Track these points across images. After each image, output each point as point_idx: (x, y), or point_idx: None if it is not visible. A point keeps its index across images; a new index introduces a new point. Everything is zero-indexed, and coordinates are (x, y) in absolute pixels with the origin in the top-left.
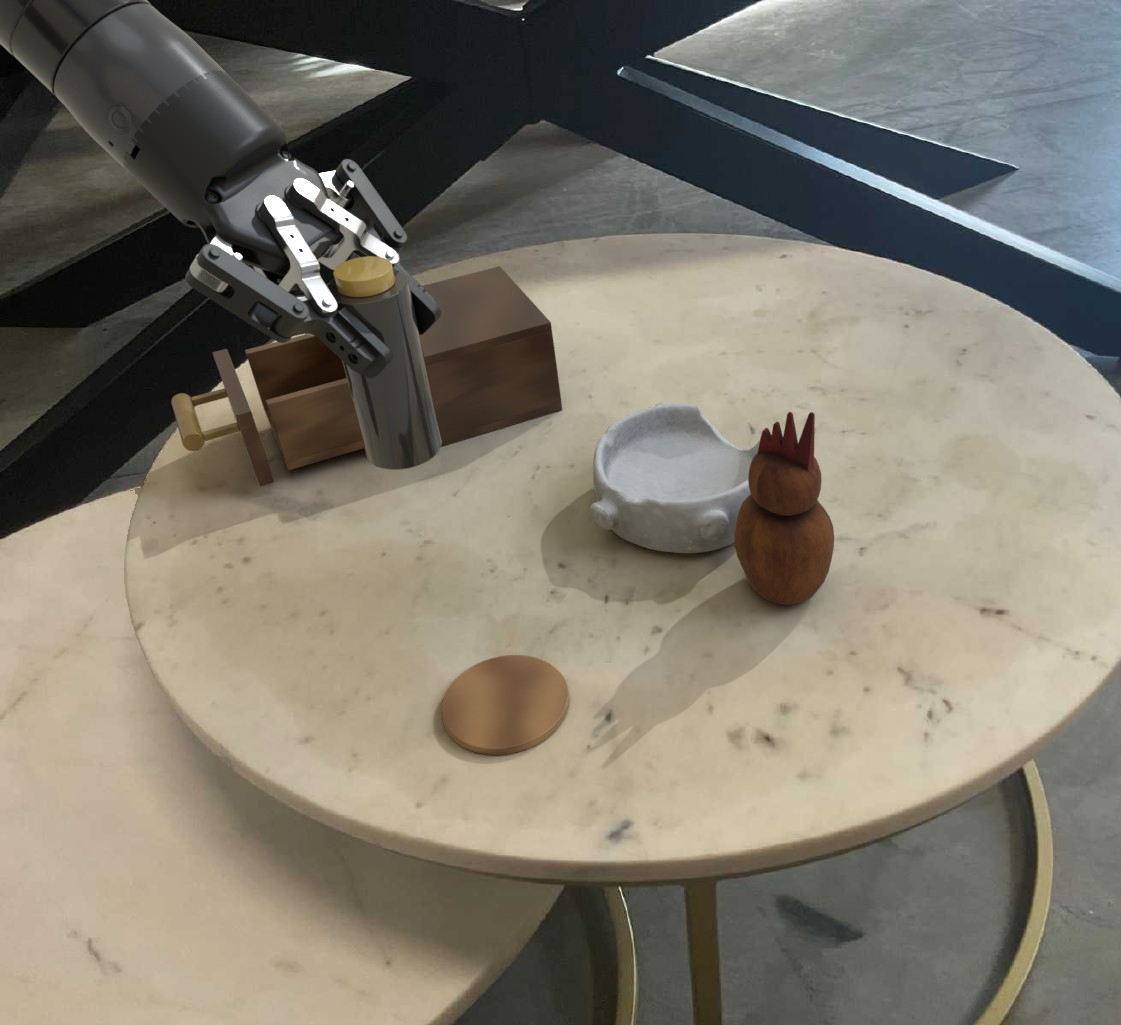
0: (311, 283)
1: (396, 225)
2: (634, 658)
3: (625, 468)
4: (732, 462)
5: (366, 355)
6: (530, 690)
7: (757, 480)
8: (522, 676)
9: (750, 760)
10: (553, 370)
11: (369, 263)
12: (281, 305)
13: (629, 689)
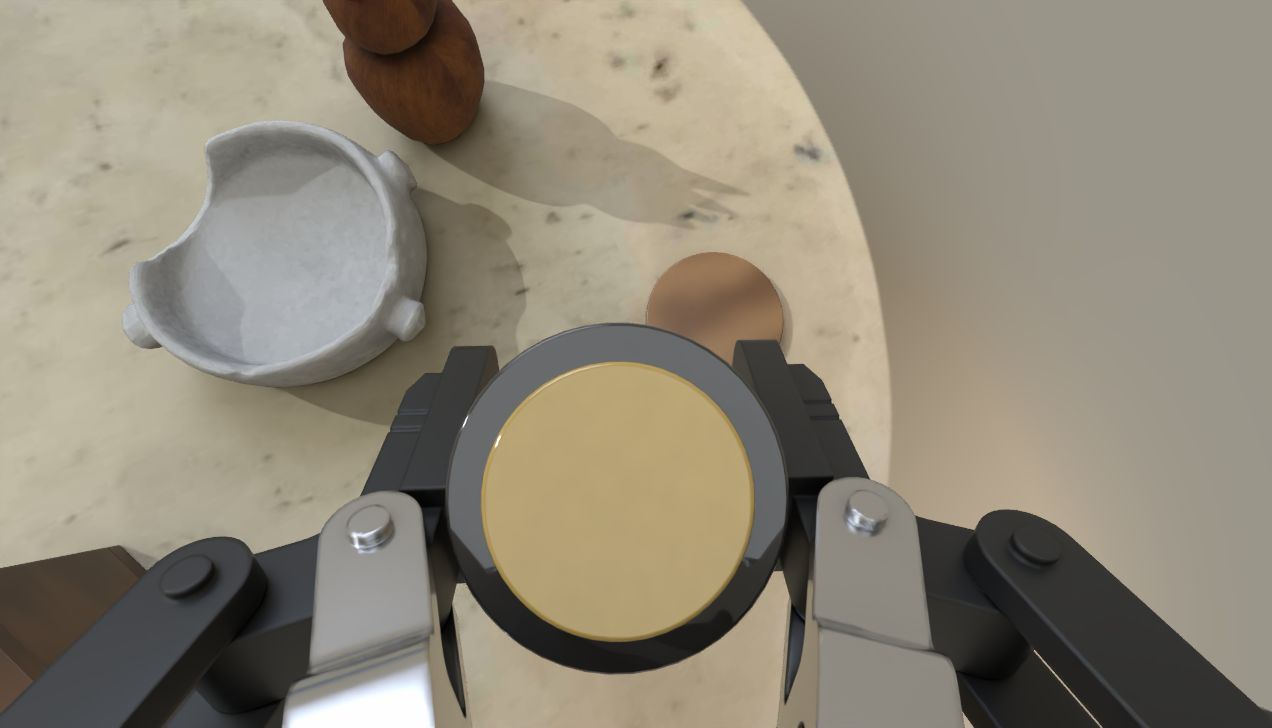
0: (892, 603)
1: (123, 620)
2: (602, 223)
3: (287, 347)
4: (236, 210)
5: (811, 377)
6: (694, 298)
7: (411, 3)
8: (677, 317)
9: (690, 73)
10: (50, 564)
11: (566, 493)
12: (1124, 594)
13: (645, 211)
